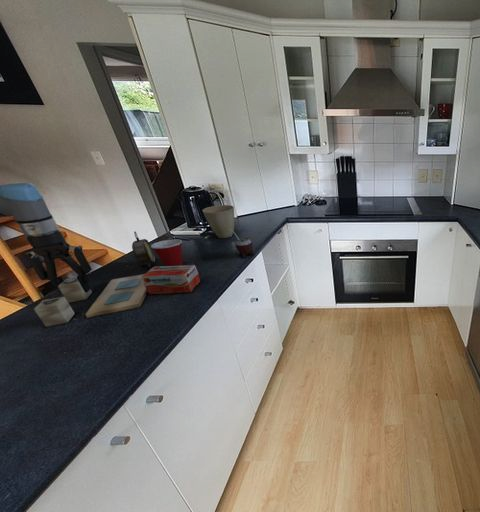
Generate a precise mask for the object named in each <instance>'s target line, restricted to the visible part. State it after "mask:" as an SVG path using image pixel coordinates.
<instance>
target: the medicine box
mask: <svg viewBox="0 0 480 512" xmlns="http://www.w3.org/2000/svg"><path fill="white" fill-rule="evenodd" d="M143 274H144V275H143ZM143 274H142V275H143V276H141V277H142V279H143V282H144V285H145V287H146V289H147V291H148V292H147V294H149V295H160V294H161V295H163V294H164V295H165V294H184V293H192V292H193V290H194V289H195V287H196V286H198V285H199V283H200V282H201V277H200V274H199V272H198V269H197V266H196V265H195V264H187V265H185V264H183V266H165V265H162V266H161V265H160V266H153V267H151V269H149V270H148V271H146V273H143Z"/></svg>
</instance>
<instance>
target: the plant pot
mask: <svg viewBox="0 0 480 512" xmlns="http://www.w3.org/2000/svg"><path fill="white" fill-rule="evenodd" d="M201 211H202V213H203V215H204V217H205V219H206V221H207V223H208V225H209V226H210V228H211V230H212V231H213V233H214V234H215V235H216V236H217V238H218V239H227V238H231V237H232V236H233V235H234V234H233V232H235V231H234V229H235V206H233V205H230V204H228V205H227V204H220V205H211V206H208V207H205V208H203V209H202V210H201ZM227 229H229V230H232V231H233V232H231V231H229V230H227Z"/></svg>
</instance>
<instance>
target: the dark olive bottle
mask: <svg viewBox="0 0 480 512" xmlns="http://www.w3.org/2000/svg"><path fill="white" fill-rule="evenodd" d="M133 233H134V238H135V240H134V241H133V242H132V244H131V249H132V253H133V256H134V258H135V259H136V261H137V263H139V264H140V265H141V266H142V267H143V266H146V265H148V269H149V270H151V269H152V267H151V264H154V263H155V262H156V256H155V251H154V249H153V248H152V247H151V245H152V244H151V243H150V242H149V240H148V239H146V238H143V239H140V238H139V237H138V233H137V232H136V230H135V231H134V232H133Z"/></svg>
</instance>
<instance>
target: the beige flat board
mask: <svg viewBox="0 0 480 512" xmlns="http://www.w3.org/2000/svg"><path fill="white" fill-rule="evenodd" d="M144 274H145V273H143V274H138V275H131V276H125V277H119V278H112V279H111V280H110V281H109V282H108V283H107V285H106V286H105V287H104V289H103V290H102V291H101V293H100V294H99V296H98V297H97V298H96V300H95V301H93V303H92V305H91V306H90V307H89V309H88V310H87V311H86V312H85V316H86V318H88V319H89V318H93V317H97V316H101V315H106V314H107V315H108V314H112V313H117V312H121V311H126V310H131V309H135V308H136V309H137V308H140V307H141V306H142V304H143V302H144V300H145V298H146V296H147V294H148V291H147V289H146V287H145V285H144V282H143V279H142V277H141V276H143V275H144Z"/></svg>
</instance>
